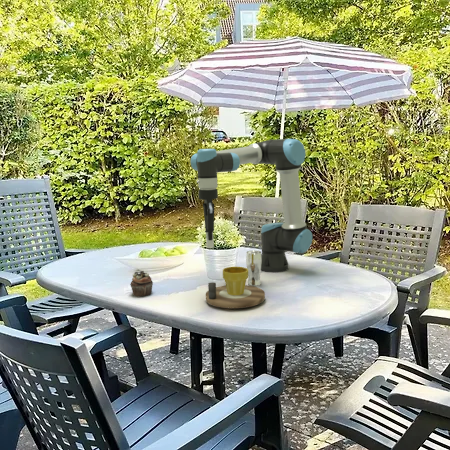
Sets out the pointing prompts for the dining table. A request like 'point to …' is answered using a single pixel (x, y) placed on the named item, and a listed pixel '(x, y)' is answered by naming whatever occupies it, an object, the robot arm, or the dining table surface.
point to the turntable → (234, 297)
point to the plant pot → (235, 279)
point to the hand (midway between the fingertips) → (210, 247)
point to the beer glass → (254, 267)
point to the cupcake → (141, 284)
